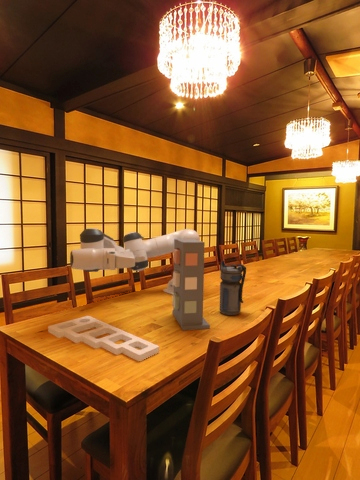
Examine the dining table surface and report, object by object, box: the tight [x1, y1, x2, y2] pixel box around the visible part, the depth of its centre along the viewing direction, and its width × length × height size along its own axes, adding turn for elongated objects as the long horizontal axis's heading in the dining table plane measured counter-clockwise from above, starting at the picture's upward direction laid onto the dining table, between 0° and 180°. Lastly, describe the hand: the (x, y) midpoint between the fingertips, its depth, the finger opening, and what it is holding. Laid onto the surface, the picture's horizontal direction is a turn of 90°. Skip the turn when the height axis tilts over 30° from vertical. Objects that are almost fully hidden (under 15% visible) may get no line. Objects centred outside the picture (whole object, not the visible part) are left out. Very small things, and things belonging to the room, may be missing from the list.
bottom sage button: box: [172, 293, 179, 310], centre depth 131 cm, size 6×6×6 cm
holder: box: [47, 315, 160, 362], centre depth 109 cm, size 45×18×3 cm, turn 48°
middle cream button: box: [172, 271, 180, 287], centre depth 131 cm, size 6×6×6 cm
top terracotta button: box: [172, 249, 180, 264], centre depth 130 cm, size 6×6×6 cm
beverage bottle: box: [219, 260, 247, 316], centre depth 143 cm, size 10×13×25 cm
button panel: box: [172, 239, 211, 331], centre depth 132 cm, size 12×22×36 cm, turn 13°
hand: (144, 258), depth 125 cm, fingers closed
